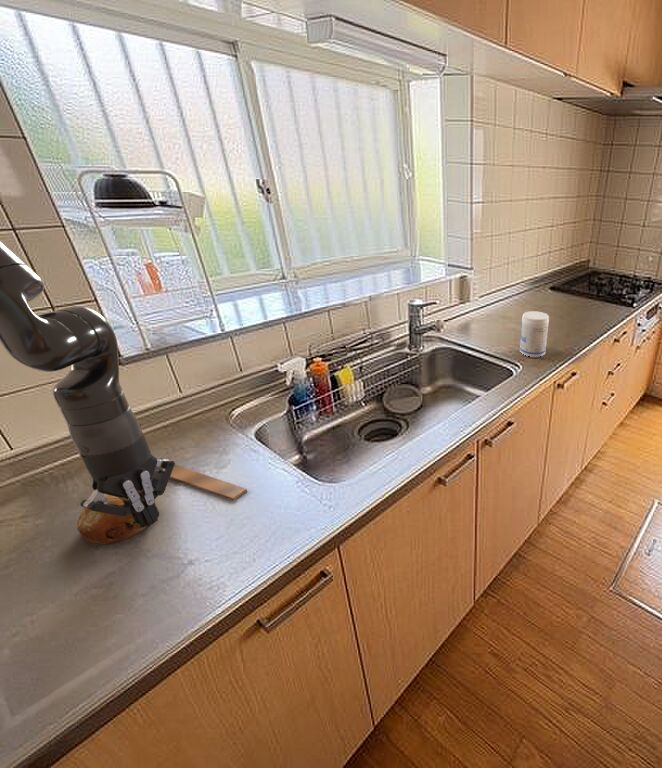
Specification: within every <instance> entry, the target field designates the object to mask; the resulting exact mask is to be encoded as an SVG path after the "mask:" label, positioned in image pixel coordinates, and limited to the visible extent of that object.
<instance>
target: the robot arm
mask: <svg viewBox="0 0 662 768" xmlns="http://www.w3.org/2000/svg"><path fill="white" fill-rule="evenodd" d="M44 290H45V282H44V281H43V279H42V277H40V276H39V275H38V274H37V273H36V272H35V271H34V270H33V269H32V268H31V267H30V266H28V265H27V263H25V261H23V260H22V259H21V258H20V257H19V256H18V255H17V254H15V253H14V252H13V251H12V250H11V249H10V248H9V247H8V246H6V244H4V243H3V242H2V241H1V240H0V345H1V346H2V348H3V349H4V350H5V351H6V353H7V354H8V355H9V356H10V357H11V358H12V359H13V360H15V361H16V362H17V363H19V364H20V365H23V366H25V367H27V368H29V369H32V370H36V371H40V372H48V373H53V372H58V371H61V370H65V369H66V368H69V370H68V373H67V374H66V375H65V376H63V378H61V379H60V380H59V381H58V382H56V383H55V384H54V385H53V387H52V391H51V394H52V397H53V400H54V402H55V403H56V406H57V408H58V410H59V412H60V414H61V415H62V418H63V419H64V422H65V423H66V426H67V428H68V429H67V430H68V433H69V435H70V438H71V441H72V442H73V444H74V446H75V448H76V450H77V452H78V454H79V456H80V458H81V459H82V462H83V463H84V465H85V468H86V469H87V471H88V473H89V475H90V476H91V478H92V484H91V488H92V489H93V491H92V493H91V494H90V495H89V497H88V498H84V499H82V500H81V501H80V504H79V506H80V507H82V508H83V509H84V508H87V509H89V510H92V511H96V512H102V513H107V514H113V515H119V516H128V515H129V514H130V513H131V514H132V516H133V518H134V520H135V522H136V523H138V524H140V525H143V526H144V525H146V526H147V527H150V526H152V525H154V524H155V523H156V522H158V520H159V519H158V517H159V516H160V512H159V509H158V507H157V504H156V499H157V498H158V497H159V496H162V495H164V493H165V491H166V489H167V486H168V483H169V481H170V479H171V478H170V476H171V473H172V470H173V468H174V465H176V462H175V461H174V460H171V459H168V458H165V457H160V458H157V457H156V456H154V455H153V454H152V451H151V448H150V446H149V444H148V442H147V439H146V436H145V434H144V432H143V430H142V425H141V423H140V422H139V420H138V418H137V416H136V414H135V413H134V412H133V410H132V408H131V406H130V404H129V402H128V400H127V398H126V397H127V396H126V395H125V392H124V391H123V388H122V386H121V384H120V363H119V348H118V340H117V335H116V333H115V331H114V329H113V327H112V325H111V323H110V322H109V321H108V319H106V318H105V317H104V316H103V315H102V314H101V313H99V312H98V311H96V310H95V309H92V308H90V307H86V306H80V305H74V306H67V307H63V308H59V309H57V310H53V311H50V312H47V313H43V314H38V315H37V314H36V313H35V312H33V310H32V309H31V307H30V305H29V303H30V302H32V301H33V300H35V299H37V298H38V297H39V296H40V295H42V293H43V292H44ZM104 494H107V495H111V496H115V497H119V498H120V499H121V500H122V501H123V503H124V504H123V505H116V504H111V503H108V502H107V499H106V498H104ZM154 502H155V503H154ZM155 504H156V505H155Z"/></svg>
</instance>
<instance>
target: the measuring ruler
mask: <svg viewBox="0 0 662 768" xmlns="http://www.w3.org/2000/svg"><path fill="white" fill-rule="evenodd" d="M169 479H171V480H174V481H177V482H179V483H182V484H185V485H187V486H191V487H194V488H196V489H199V490H202V491H205V492H208V493H210V494H214V495H217V496H218V497H222V498H225V499H227V500H230V501H233V502H234V501H236V500H237V499H238V498H240V497H241V496H242V495H243V494H245V493H246V492H248V489H247V488H245V487H243V486H240V485H236V484H234V483H230V482H228V481H224V480H222V479H218V478H216V477H213V476H210V475H207V474H204V473H201V472H199V471H195V470H192V469H190V468H186V467H184V466H181V465H177V464H175V465H174V468H173V470H172V473H171V476H170V478H169Z"/></svg>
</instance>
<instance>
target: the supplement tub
mask: <svg viewBox="0 0 662 768" xmlns="http://www.w3.org/2000/svg"><path fill="white" fill-rule="evenodd" d="M549 323H550V316H549V315H548V313H545V312H544V311H543V312H542V311H536V310H534V311H533V310H530V311H525V312H524V313H523V314H522V317H521V326H520V327H521V329H520V341H519V353H520V352H521V353H522V354H521V353H520V354H521V355H522V356H524V357H527V358H532V359H533V358H542V357H543V356H545V354H546V352H547V351H546V350H547V344H548V343H547V341H548V331H549ZM523 354H524V355H523ZM525 355H526V356H525ZM528 356H530V357H528ZM540 356H541V357H540Z"/></svg>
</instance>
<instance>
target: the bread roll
mask: <svg viewBox="0 0 662 768" xmlns="http://www.w3.org/2000/svg"><path fill="white" fill-rule="evenodd" d="M104 498H106V499H107V502H108V503H111V504H116V505H123V504H124V503H123V501H122V500H121V499H120V498H119V497H115V496H111V495H107V494H104ZM154 503H155V505H156V506H157V503H156V501H155V502H154ZM76 525H77V531H78V532H79V534H80V536H81V537H83V539H85V540H86V541H87V542H91V543H95V544H100V545H107V544H114V543H119V542H123V541H125V540H127V539H130V538H132V537H134V536H135V535H137V534H139V533H140V532H142V531H144V530H145V529H146V528H147V527H148V526H146V525H144V526H143V525H140V524H138V523H136V522H135V520H134V518H133V516H132V514H131V513H130V514H129V515H128V516H119V515H113V514H107V513H102V512H96V511H92V510H89V509H87V508H84V507H83V509H82V511H81V513H80V515H79V517H78V520H77V524H76Z"/></svg>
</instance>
